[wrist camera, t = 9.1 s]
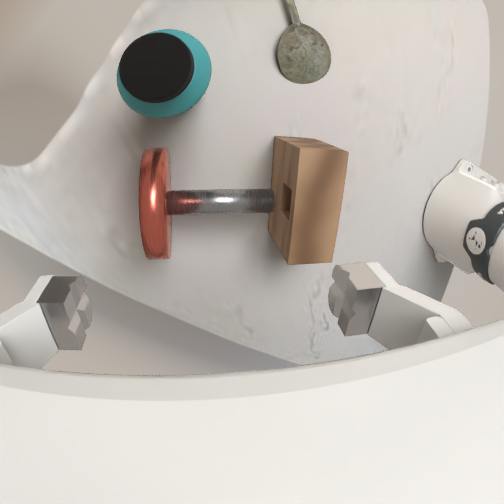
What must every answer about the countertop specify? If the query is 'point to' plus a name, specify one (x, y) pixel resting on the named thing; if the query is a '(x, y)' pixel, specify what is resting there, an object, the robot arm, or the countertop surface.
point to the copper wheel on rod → (184, 202)
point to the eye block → (306, 198)
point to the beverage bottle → (163, 73)
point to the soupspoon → (302, 51)
